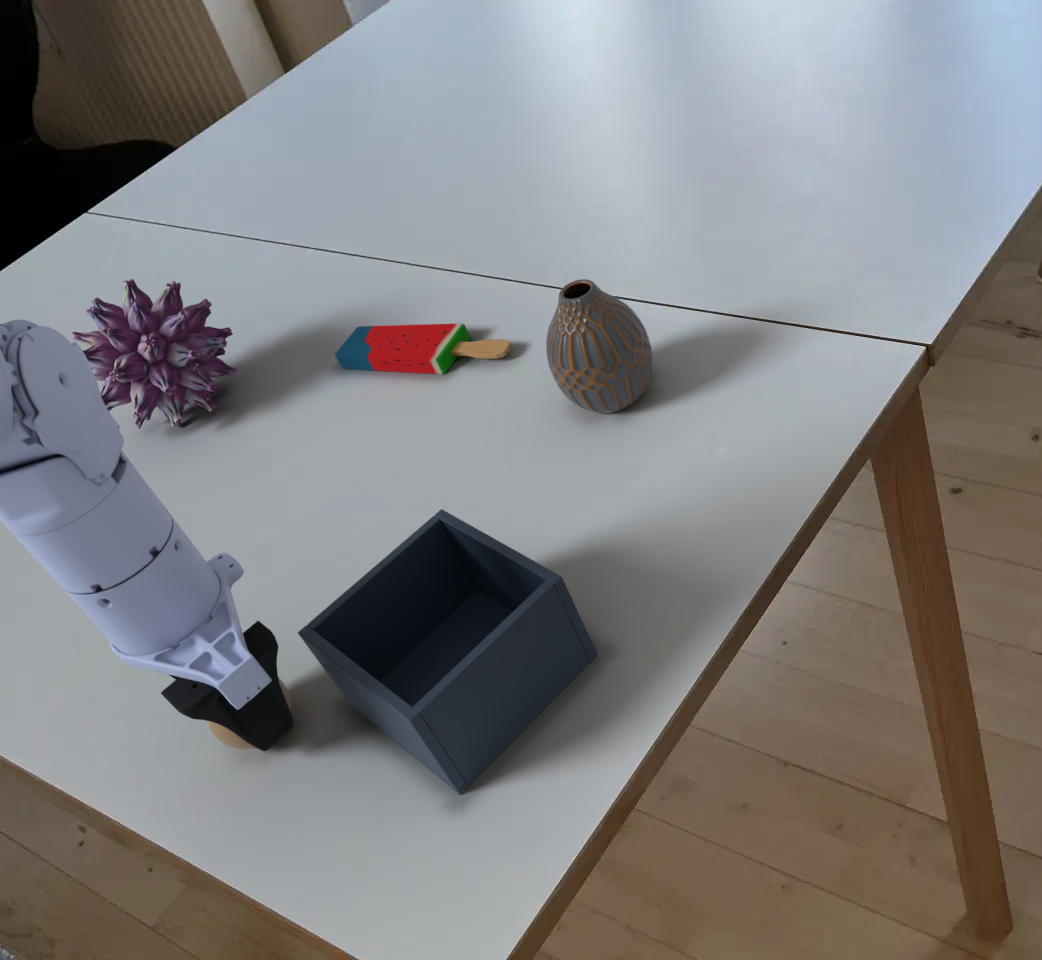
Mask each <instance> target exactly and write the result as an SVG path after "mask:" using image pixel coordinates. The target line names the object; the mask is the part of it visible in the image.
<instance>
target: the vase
mask: <svg viewBox="0 0 1042 960" xmlns="http://www.w3.org/2000/svg"><path fill="white" fill-rule="evenodd" d="M545 341H546V343H545V345H546V347H545V348H546V349H545V350H546V358H547V365H548V367H549V370H550V372H551V375H552V377H553V380H554V381H555V383H556V385H557V387H558V388H559V390H560V391H561V393H562V394H563V395H564V396H565V397H566V398H567V399H568V400H569V401H570V402H572V403H573V404H574V405H575V406H577V407H579V408H581V409H583V410H586V411H589V412H592V413H597V414H612V413H617V412H620V411H622V410H625V409H626V408H628V407H630V406H632V405H633V404H634V403H635V402H637V400H638V399H639V398H640V397H641V395H642V394H643V393H644V392H645V391H646V389H647V387H648V384H649V382H650V380H651V377H652V372H653V361H654V359H653V350H652V349H653V348H652V344H651V342H650V338H649V334H648V332H647V329H646V327H645V326H644V324H643V322H642V320H641V318H640V317H639V316H638V314H636V312H635V311H634V310H633V308H631V306H629V305H628V304H627V303H625V302H624V301H623V300H621V299H620V298H617V297H615V296H614V295H611V294H610V293H607V292H606V291H604V290H602V289H601V287H599V286H598V285H597V284H596V283H595V282H594V281H592V280H590V279H585V278H584V279H583V278H582V279H575V280H573V281H570V282H568V283H566V284H565V285H564V286H563V287H562V288H561V289H560V291H559V293H558V300H557V306H556V309H555V311H554V313H553V316H552V318H551V321H550V323H549V326H548V330H547V333H546V340H545Z"/></svg>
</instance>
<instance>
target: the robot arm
mask: <svg viewBox="0 0 1042 960" xmlns="http://www.w3.org/2000/svg"><path fill="white" fill-rule="evenodd" d="M100 393H101V390H100V387H99V384H98V380H96V378H95V375H94V373H93V370H92V368H91V366H90V363H89V361H88V360H87V358H86V356H85V354H84V352H83V349H82V348H81V346H80V345H79V343H78V341H73V342H71V341H70V340H69V339H68V338H67V337H66V335H65V336H64V334H62V333H61V332H60V331H58V330H57V329H54V328H52V327H50V326H46V325H37V324H36V323H34V322H33V321H29V320H25V319H14V320H9V321H6V322H3V323H0V522H1V523H2V525H4V526H5V527H6V529H7V530H9V532H11V534H12V535H13V537H15V538H16V539H17V540H18V541H19V542H20V543H21V544H22V546H23V547H24V548H25V549H26V551H28V552H29V554H31V555H32V557H33V558H34V559H35V560H36V561H37V562H38V563H39V564H40V566H41V567H42V568H43V569H44V570H45V571H46V572H47V573H48V574H49V575H50V577H52V579H53V580H54V581H55V583H57V584H58V585H59V586H60V587H61V589H62V590H63V591H64V592H65V594H67V596H68V597H69V598H70V599H71V600H72V601H73V602H74V603H75V604H76V605H77V607H79V608H80V610H82V612H83V613H84V614H85V615H86V616H87V618H88V619H89V620H90V621H91V622H92V623H93V624H94V626H96V627H97V628H98V629H99V631H100V632H101V633H102V634H103V635H104V636H105V637H106V638H107V640H108V643H109V647H110V648H111V650H112V652H113V653H114V654H115V655H116V657H118V658H119V659H120V660H121V661H122V662H123V663H125V664H127V665H128V666H131V667H135V668H139V669H142V670H143V669H144V670H147V671H152V672H155V673H160V674H165V675H168V676H169V677H171V678H173V679H174V680H173V682H171V683H170V684H169V685H168V686H167V687H165V688H164V689H163V690H161V691H160V694H161V695H162V696H163V698H164V699H166V701H167V702H168V703H169V704H170V705H171V706H172V707H173V708H174V709H175V710H176V711H177V712H178V713H180V714H181V715H183V716H185V717H187V718H190V719H192V720H200V721H206V722H207V721H210V722H214V723H216V724H219V725H221V726H223V727H225V728H227V729H229V730H230V731H232V732H233V733H235V734H236V735H237V736H239V737H240V738H242V739H243V740H244V741H246V742H247V743H249V744H250V745H252V746H254V747H256V748H255V749H258V750H260V751H262V752H267V751H268V750H269V749H271V748H272V746H274V745H276V743H277V742H279V740H280V739H282V738H283V737H284V736H285V735H286V734H288V732H289V731H291V730H292V729H293V728H294V726H295V723H294V719H293V716H292V712H291V711H290V709H289V707H288V704H287V702H286V699H285V697H284V694H283V692H282V689H281V686H280V683H279V679H278V677H279V674H278V653H279V644H278V640H277V638H276V636H275V634H274V632H273V631H272V630H271V629H270V628H268V627H267V626H266V625H264V624H263V623H262V622H261V620H257V621H255V622H254V623H253V624H252V625H251V626H249V628H247V629H246V630H245V631H243V629H242V626H241V622H240V617H239V613H238V611H237V608H236V604H235V600H234V596H233V594H232V588H233V585H234V584H235V583H236V582H237V581H239V580H240V579H241V578H242V577H243V575H244V572H245V570H244V568H243V566H242V565H241V563H240V562H239V561H238V560H237V559H236V558H234V557H233V556H231V555H230V554H229V553H227V552H220V553H218V554H216V555H214V556H213V557H211V558H210V559H209V560H206V559H205V558H204V557H203V555H202V554H201V552H200V551H199V550H198V549H197V547H196V546H195V544H194V543H193V542H192V541H191V539H190V538H189V537H188V536H187V534H186V532H184V530H183V529H182V527H181V526H180V525H179V523H178V522H177V521H176V520H175V518H174V517H173V515H172V514H171V513H170V512H169V510H168V508H167V507H166V506H165V505H164V503H163V502H162V501H161V499H159V497H158V495H157V494H156V493H155V492H154V491H153V489H152V488H151V487H150V486H149V484H148V483H147V481H146V480H145V478H143V476H142V475H141V474H140V472H139V471H138V470H137V468H136V467H135V465H134V464H133V463H132V462H131V460H130V459H129V458H128V457H127V456H126V454H125V452H124V451H123V450H122V449H123V446H124V443H125V439H124V436H123V434H122V433H121V432H120V428H121V427H120V425H119V424H118V422H117V421H116V419H115V418H114V416H113V415H112V414H111V412H110V411H108V410H107V408H106V406H105V404H104V402H103V400H102V397H101V394H100Z"/></svg>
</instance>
